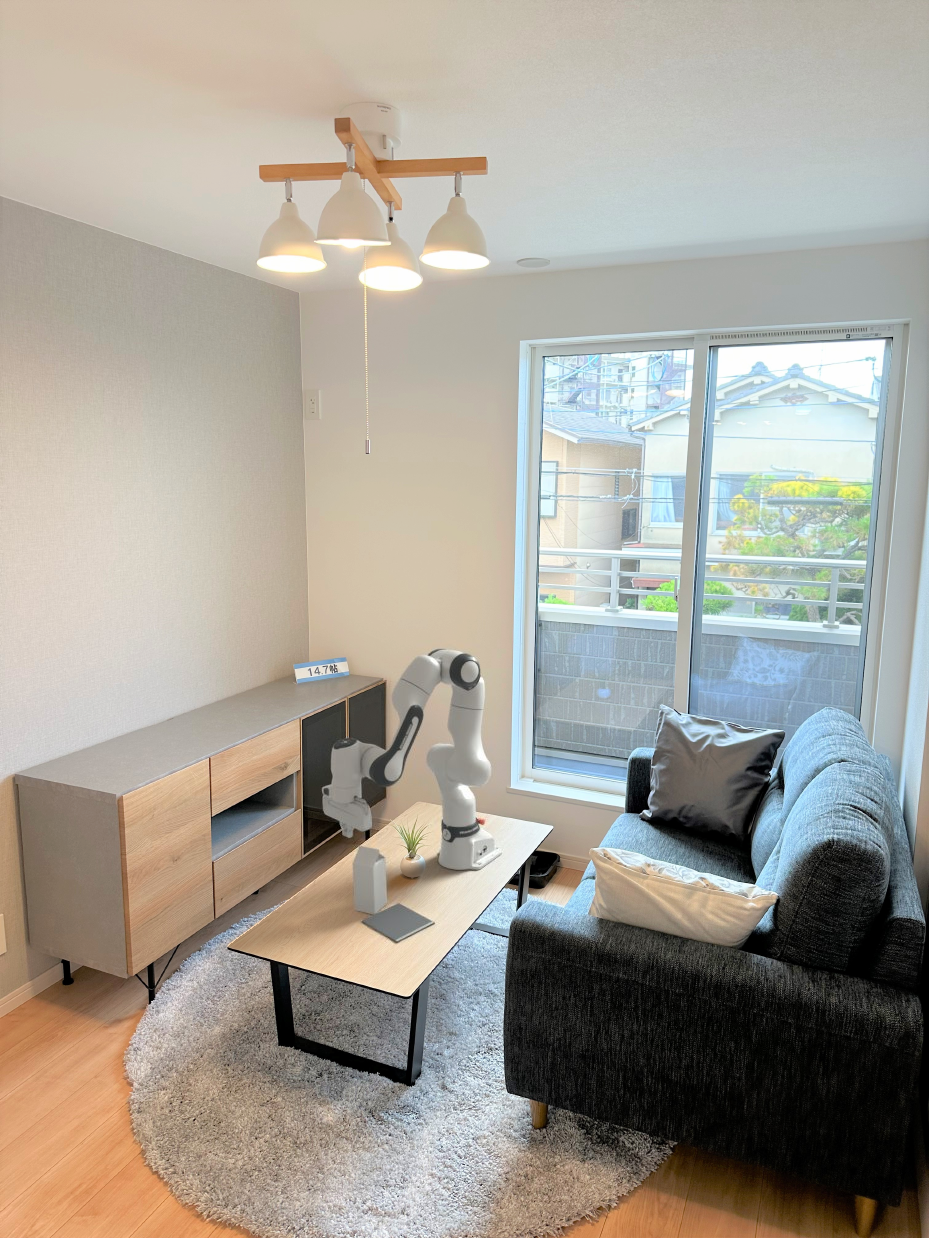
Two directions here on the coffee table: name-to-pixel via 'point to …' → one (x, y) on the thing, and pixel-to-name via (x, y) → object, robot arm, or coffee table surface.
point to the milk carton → (369, 880)
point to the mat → (398, 922)
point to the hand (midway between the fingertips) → (347, 836)
